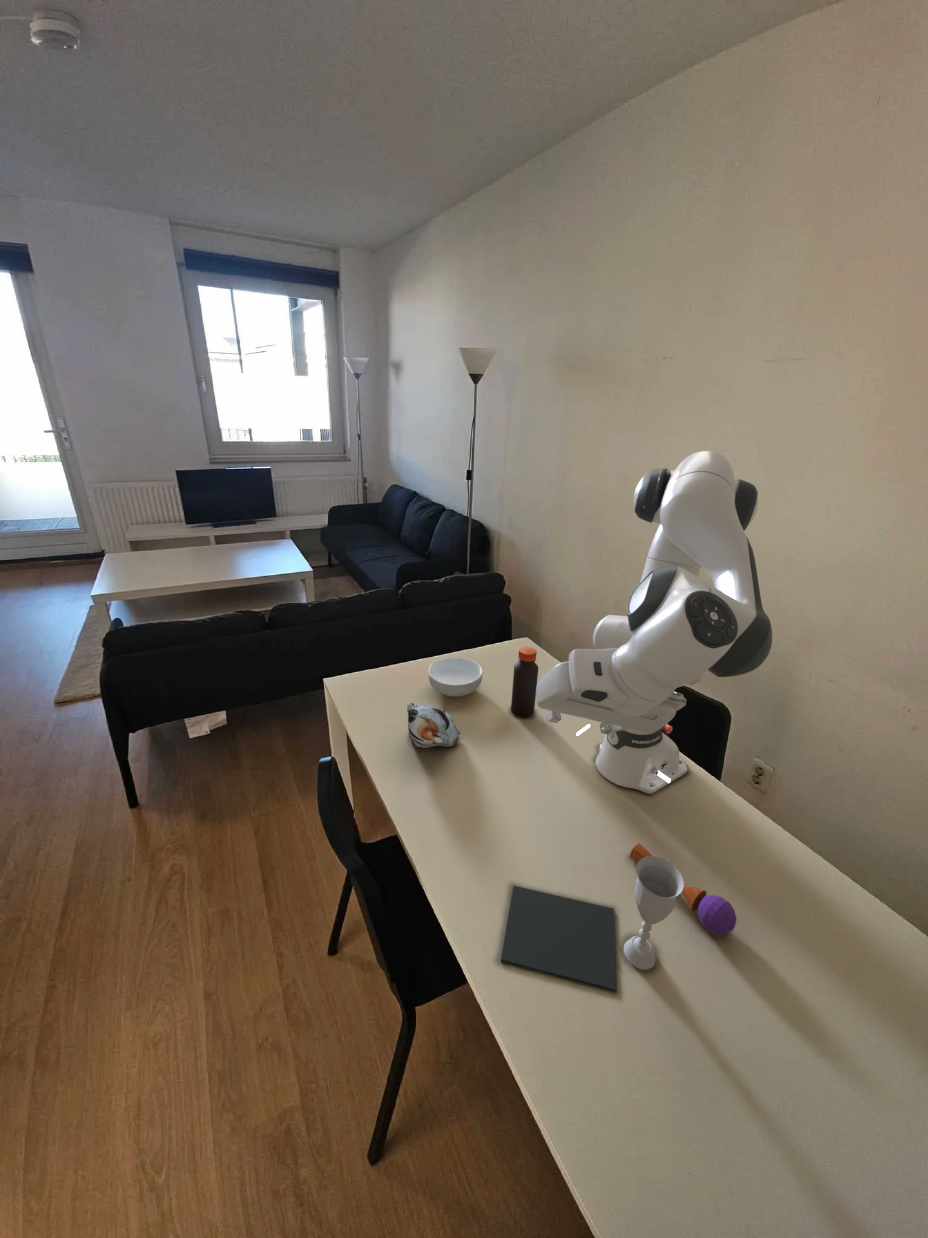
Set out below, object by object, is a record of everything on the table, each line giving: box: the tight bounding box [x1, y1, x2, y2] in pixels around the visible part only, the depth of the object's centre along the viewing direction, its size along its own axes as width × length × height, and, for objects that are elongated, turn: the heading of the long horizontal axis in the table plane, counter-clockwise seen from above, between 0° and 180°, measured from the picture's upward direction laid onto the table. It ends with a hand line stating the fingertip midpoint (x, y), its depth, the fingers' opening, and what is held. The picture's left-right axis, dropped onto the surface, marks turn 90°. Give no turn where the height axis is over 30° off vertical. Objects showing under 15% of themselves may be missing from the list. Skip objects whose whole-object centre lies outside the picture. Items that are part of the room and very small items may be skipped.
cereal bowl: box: [427, 656, 483, 697], centre depth 156 cm, size 17×17×7 cm
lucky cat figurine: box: [406, 702, 461, 749], centre depth 130 cm, size 15×12×14 cm
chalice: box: [623, 855, 685, 971], centre depth 80 cm, size 7×7×18 cm
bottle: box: [510, 646, 539, 719], centre depth 143 cm, size 7×7×20 cm
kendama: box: [629, 843, 737, 936], centre depth 92 cm, size 6×6×20 cm
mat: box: [500, 885, 617, 992], centre depth 86 cm, size 18×14×1 cm
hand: (577, 724), depth 79 cm, fingers open, 8 cm apart
